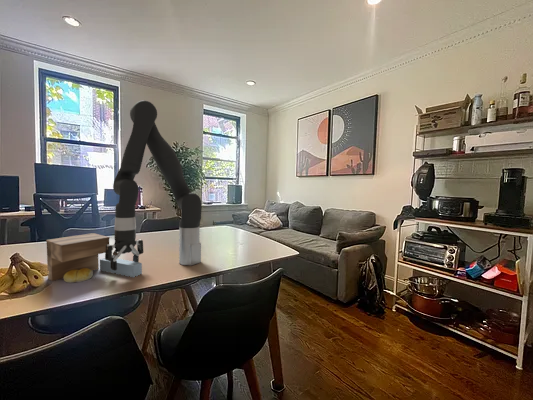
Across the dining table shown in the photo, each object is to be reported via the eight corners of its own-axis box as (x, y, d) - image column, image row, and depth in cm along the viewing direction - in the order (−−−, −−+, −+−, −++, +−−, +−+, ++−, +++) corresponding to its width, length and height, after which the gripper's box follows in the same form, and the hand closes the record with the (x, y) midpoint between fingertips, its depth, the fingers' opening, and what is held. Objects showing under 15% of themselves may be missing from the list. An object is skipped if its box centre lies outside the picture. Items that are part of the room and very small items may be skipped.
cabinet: (110, 273, 103) (109, 237, 102) (62, 286, 89) (61, 245, 88) (94, 266, 109) (93, 233, 108) (47, 278, 96) (46, 240, 94)
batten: (141, 274, 103) (141, 262, 102) (133, 278, 99) (133, 265, 99) (108, 268, 109) (108, 257, 109) (100, 271, 106) (99, 259, 105)
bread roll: (68, 276, 99) (67, 266, 98) (94, 274, 102) (94, 264, 101) (59, 284, 91) (58, 274, 91) (88, 282, 94) (88, 271, 94)
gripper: (111, 231, 93) (111, 274, 94) (147, 227, 105) (146, 264, 106) (101, 229, 96) (101, 270, 97) (136, 224, 109) (136, 261, 110)
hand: (125, 267), depth 102 cm, fingers open, 8 cm apart
